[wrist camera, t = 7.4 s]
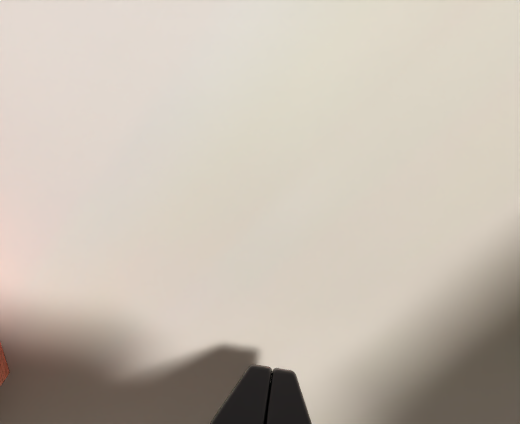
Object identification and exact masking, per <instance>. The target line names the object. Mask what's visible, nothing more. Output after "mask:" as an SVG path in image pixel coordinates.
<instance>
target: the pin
mask: <svg viewBox="0 0 520 424" xmlns="http://www.w3.org/2000/svg"><path fill="white" fill-rule="evenodd" d="M9 373H10V372H9V369H8V365H7V362H6V359H5V355H4V352H3V349H2V346H1V342H0V386H1V385H2V383H3V382H4V380H5V379H6V377H7V376H8V374H9Z"/></svg>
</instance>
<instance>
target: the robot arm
mask: <svg viewBox="0 0 520 424" xmlns="http://www.w3.org/2000/svg"><path fill="white" fill-rule="evenodd" d="M271 375H272V377H271ZM270 382H271V383H270ZM269 389H270V390H269ZM210 424H312V423H311V420H310V417H309V414H308V411H307V408H306V404H305V401H304V398H303V395H302V392H301V389H300V386H299V383H298V380H297V377H296V374H295V373H294V372H293V371H291V370H285V369H279V368H275V369H274V370H273V371H272V369H271V368H270V367H267V366H261V365H255V364H253V365H251V366H249V367H248V369H247V370H246V372H245V373H244V375H243V376H242V378H241V379H240V380H239V382H238V383H237V385H236V386H235V388H234V389H233V391H232V392H231V394H230V395H229V397H228V398H227V399H226V401H225V402H224V404H223V405H222V407H221V408H220V410H219V411H218V413H217V414H216V415H215V417H214V418H213V420H212V421H211V423H210Z"/></svg>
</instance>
